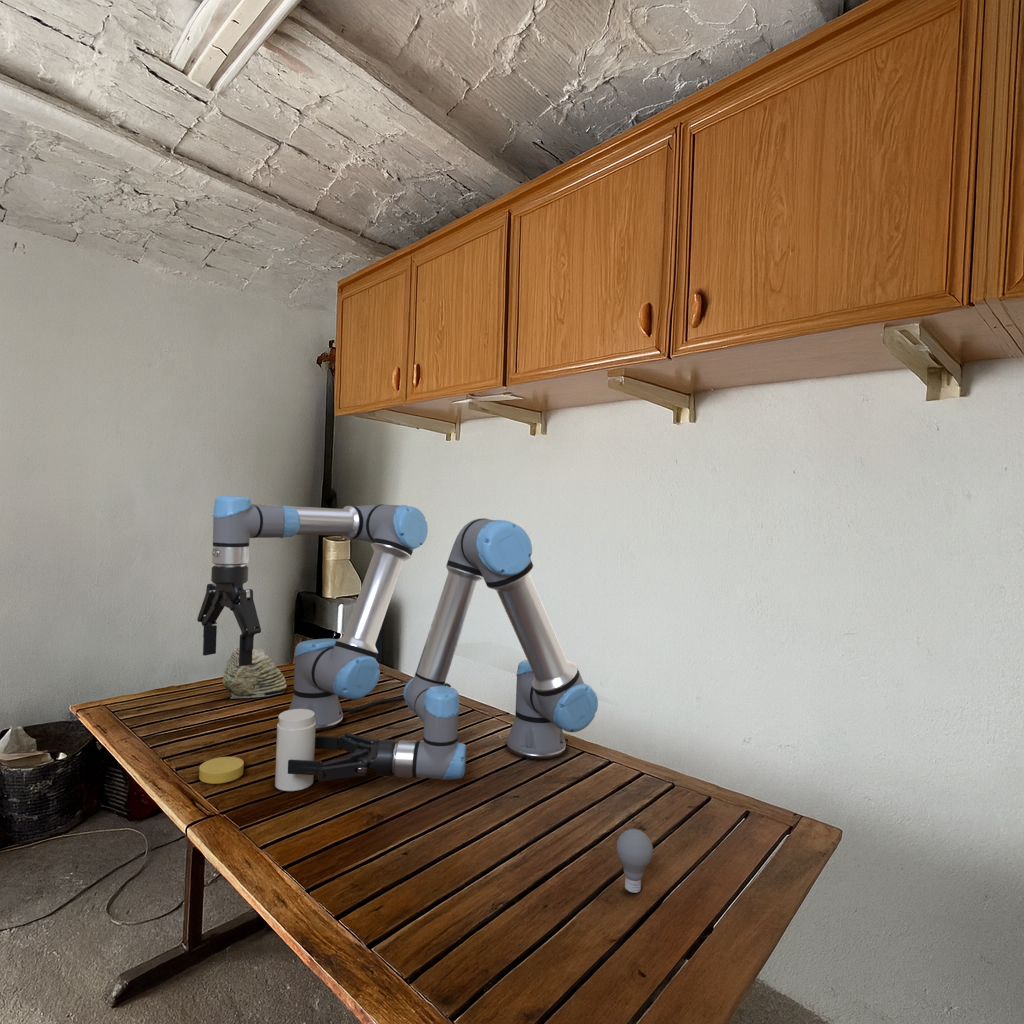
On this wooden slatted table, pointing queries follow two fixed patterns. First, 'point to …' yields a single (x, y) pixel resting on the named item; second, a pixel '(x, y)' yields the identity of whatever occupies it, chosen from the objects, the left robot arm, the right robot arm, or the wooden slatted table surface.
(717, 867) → the wooden slatted table surface
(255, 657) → the fossil
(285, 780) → the jar
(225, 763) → the lid
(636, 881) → the light bulb
